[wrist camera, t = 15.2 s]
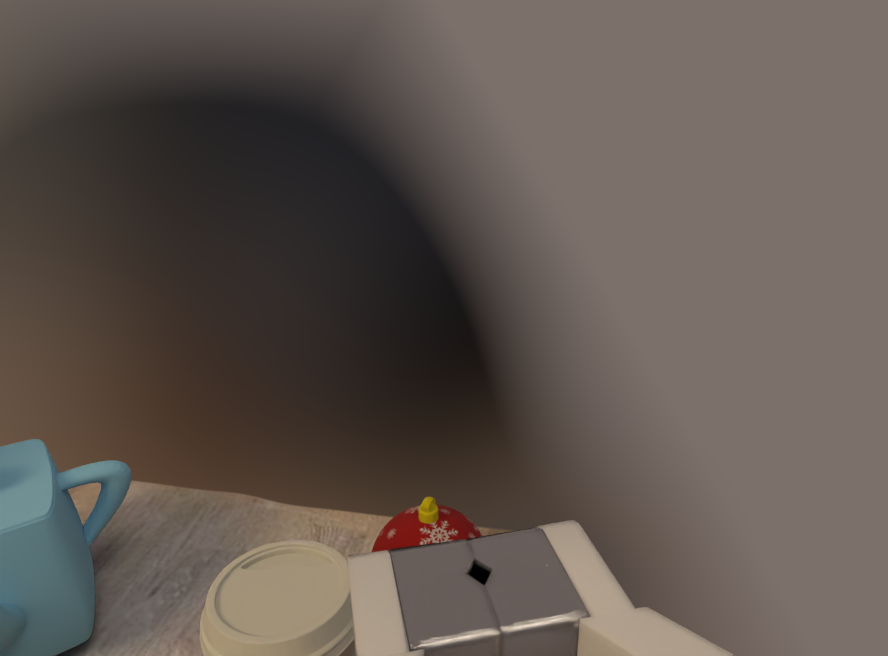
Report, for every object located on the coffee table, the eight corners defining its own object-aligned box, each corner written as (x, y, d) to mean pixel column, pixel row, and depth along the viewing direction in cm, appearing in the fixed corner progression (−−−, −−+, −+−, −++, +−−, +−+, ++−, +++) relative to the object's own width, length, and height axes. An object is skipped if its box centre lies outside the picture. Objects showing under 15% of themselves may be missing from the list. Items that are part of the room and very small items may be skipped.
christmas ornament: (350, 638, 45) (340, 520, 42) (406, 561, 53) (401, 455, 49) (463, 679, 42) (462, 555, 38) (506, 591, 49) (508, 479, 46)
